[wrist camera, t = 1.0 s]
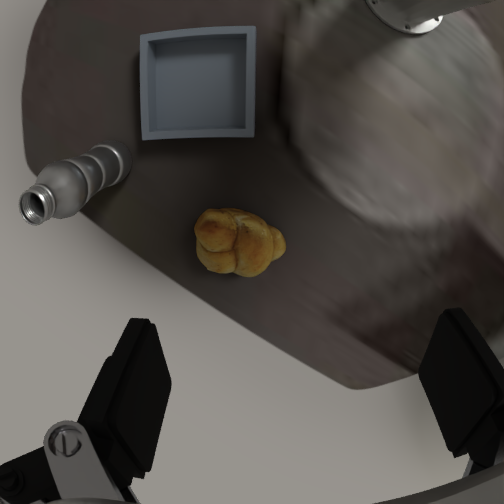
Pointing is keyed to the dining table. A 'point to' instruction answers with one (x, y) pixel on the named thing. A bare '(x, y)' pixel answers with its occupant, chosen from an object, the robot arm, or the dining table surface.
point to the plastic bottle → (74, 182)
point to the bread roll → (236, 242)
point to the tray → (198, 83)
